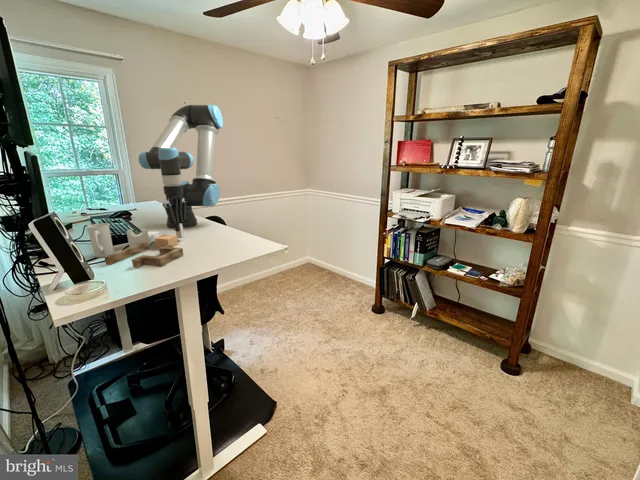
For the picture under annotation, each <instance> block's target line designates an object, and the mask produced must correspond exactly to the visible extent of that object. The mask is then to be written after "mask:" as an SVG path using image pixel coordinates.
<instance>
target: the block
mask: <svg viewBox="0 0 640 480" xmlns="http://www.w3.org/2000/svg"><path fill="white" fill-rule="evenodd" d="M178 239H179V238H177V235H176V234H162V235H159V237H157V238H155V240H154V242H155V246H156V247H155V248H156V249H157V250H159V248H161V247H163V246H165V245H168V244H171V245H173V247H174V248H176V247H177V246H179V240H178Z"/></svg>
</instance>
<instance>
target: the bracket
mask: <svg viewBox="0 0 640 480" xmlns="http://www.w3.org/2000/svg"><path fill="white" fill-rule="evenodd" d="M125 232H126V236H127V241H128V245H129V247H132V246H135V245H137V244H140V243H142V242H148V246H149V245H150V244H151V243H153V242H155V238H157V237H160V233H159V231H148V228H144V229H142V230H141V232H140V233H138V234H136V233H135V232H134V231H133V229H127V230H126V231H125ZM129 247H128V248H129Z"/></svg>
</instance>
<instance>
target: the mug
mask: <svg viewBox="0 0 640 480" xmlns="http://www.w3.org/2000/svg"><path fill="white" fill-rule="evenodd" d="M86 227H87V232H88V236H89V239H90V242H91V243H90V244H91V246H92V251H93V253H94V257H95V258H104V257H105V256H108V255H111V254H113V253H115V251H114V246H113V239H112V235H111V229H110V224H109V223H105V222H103V223H102V222H101V223H95V224H90V225H87V226H86Z"/></svg>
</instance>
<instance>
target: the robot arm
mask: <svg viewBox="0 0 640 480" xmlns="http://www.w3.org/2000/svg"><path fill="white" fill-rule="evenodd" d="M223 127H224V119H223V115H222V112H221V110H220V108H219V106H217V105H215V104H187V105H184V106H182V107H181V108H179V109H177V110H176V111H175V112H174V113H172V114H171V116H170V118H169V119H168V124H167V125H166V127H165V129H163V131H162V133H160V135H159V136H158V138H157V139H156V140H155V142H154V144H153V145H152V146H151V148H150V150H148V151H144V152H143V151H142V152H140V154H139V155H138V163H139V165H140V166H141V168H143V169H145V170H160V173H161V179H162V185H163V187H162V189H163V193H164V195H165V198H166V201H165V202H164V203H162V207H163V208H164V210H165V213H166V215H167V219H166V227H167V228H168V229H174V231H175V235H177V239H184V238H185V235H184V229H186V228H187V229H188V228H190V227H196V226H197V225H198V219H197V218H196V215H195V213H194V210H193V207H206V208H208V207H214V206H216V205H217V204H218V202H219V199H220V196H221V191H220V186H219V184H217V181H216V180H215V179H214V171H215V169H214V168H215V150H216V136H217V135H218V134H219V130H220V129H222V128H223ZM191 129H195V131H196V132H197V145H196V146H197V148H196V149H197V150H196V167H195V177H193V178H192V183H190V182H189V181H188V180H183V179H182V172H181V170H188V169H190V168H191V167H193V165H194V164H195V159H194V157H193V155H192V154H191V153H190V152H186V151H179V150H178V149H177V148H176V145H177V144H178V142H179V140H180V139H181V137H182V136H183V134H184V133H186V132H188V130H191Z"/></svg>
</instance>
